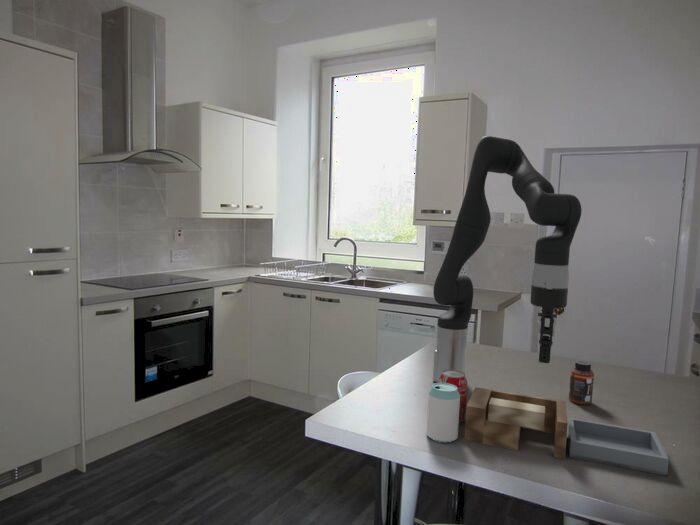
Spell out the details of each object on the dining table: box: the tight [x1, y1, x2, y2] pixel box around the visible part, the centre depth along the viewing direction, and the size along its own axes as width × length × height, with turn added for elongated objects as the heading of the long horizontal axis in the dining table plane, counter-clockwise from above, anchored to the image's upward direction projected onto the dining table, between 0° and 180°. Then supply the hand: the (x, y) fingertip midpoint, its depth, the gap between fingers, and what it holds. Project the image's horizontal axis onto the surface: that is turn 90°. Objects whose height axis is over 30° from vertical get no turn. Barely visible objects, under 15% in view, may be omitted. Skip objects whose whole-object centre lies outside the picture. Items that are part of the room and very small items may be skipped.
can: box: [426, 382, 460, 443], centre depth 112 cm, size 7×7×12 cm
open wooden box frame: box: [464, 386, 568, 460], centre depth 114 cm, size 21×14×8 cm, turn 68°
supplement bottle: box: [568, 360, 595, 406], centre depth 139 cm, size 6×6×11 cm
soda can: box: [439, 370, 468, 424], centre depth 123 cm, size 7×7×12 cm
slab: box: [488, 398, 545, 431], centre depth 113 cm, size 12×4×4 cm, turn 68°
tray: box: [567, 417, 670, 477], centre depth 109 cm, size 18×14×4 cm
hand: (544, 358), depth 110 cm, fingers open, 6 cm apart
